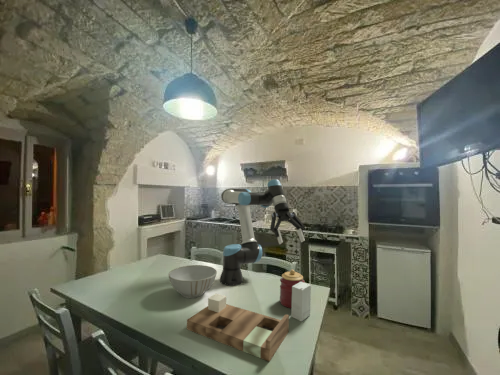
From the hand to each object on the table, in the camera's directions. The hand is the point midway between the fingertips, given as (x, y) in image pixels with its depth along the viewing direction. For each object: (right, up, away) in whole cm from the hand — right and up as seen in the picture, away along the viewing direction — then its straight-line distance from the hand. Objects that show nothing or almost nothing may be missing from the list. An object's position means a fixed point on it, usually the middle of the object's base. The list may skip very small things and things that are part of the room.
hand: (292, 242), depth 118 cm
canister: (+1, -34, +7) cm, 35 cm away
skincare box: (+3, -34, -7) cm, 35 cm away
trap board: (-27, -33, -19) cm, 46 cm away
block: (-37, -29, -8) cm, 47 cm away
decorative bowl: (-54, -33, +16) cm, 66 cm away
